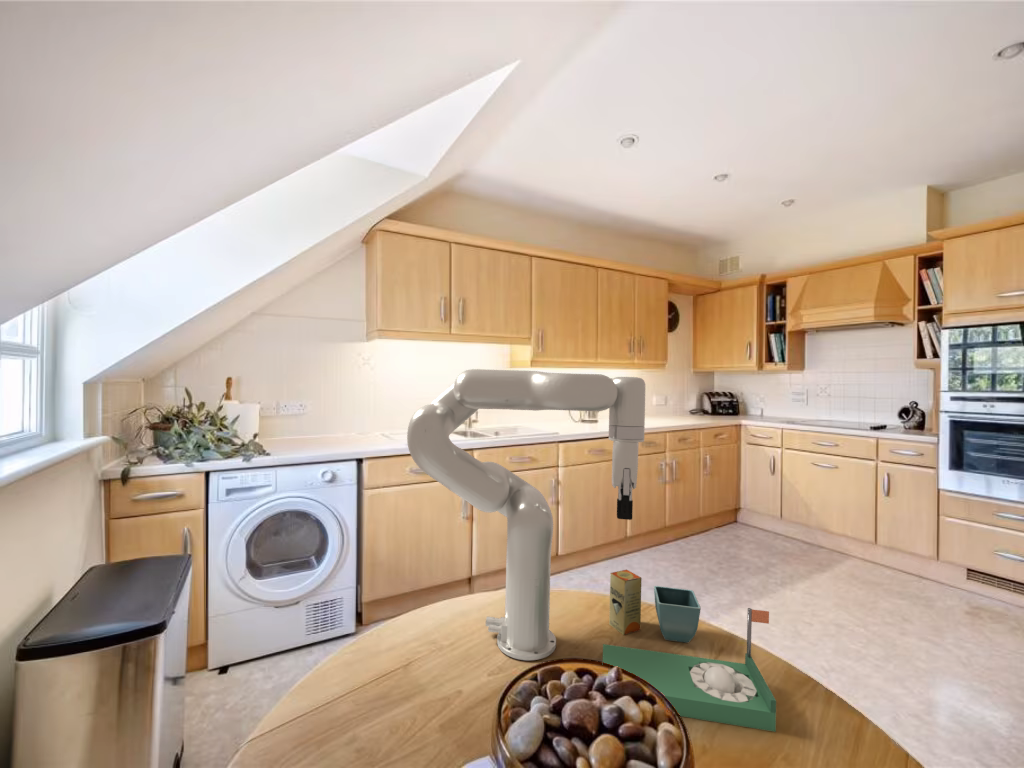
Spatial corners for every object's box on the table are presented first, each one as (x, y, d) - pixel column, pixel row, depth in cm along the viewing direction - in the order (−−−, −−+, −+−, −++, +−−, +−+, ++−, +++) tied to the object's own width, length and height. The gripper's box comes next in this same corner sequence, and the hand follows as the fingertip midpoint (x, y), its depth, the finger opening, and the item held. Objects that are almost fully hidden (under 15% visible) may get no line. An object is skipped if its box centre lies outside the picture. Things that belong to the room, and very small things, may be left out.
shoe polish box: (623, 635, 99) (624, 581, 99) (609, 624, 103) (610, 572, 103) (640, 630, 101) (641, 577, 101) (625, 619, 105) (626, 569, 105)
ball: (735, 704, 75) (703, 697, 78) (736, 701, 79) (706, 694, 81) (732, 670, 77) (701, 664, 80) (734, 668, 81) (704, 663, 84)
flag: (746, 684, 83) (748, 609, 83) (745, 681, 84) (747, 607, 84) (768, 687, 82) (769, 611, 82) (766, 684, 83) (768, 610, 83)
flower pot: (700, 650, 94) (701, 608, 94) (657, 644, 95) (658, 602, 95) (692, 628, 102) (693, 589, 102) (652, 623, 104) (653, 585, 104)
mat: (602, 703, 77) (603, 674, 77) (602, 658, 90) (603, 634, 90) (775, 731, 71) (776, 700, 72) (749, 680, 84) (749, 653, 84)
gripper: (608, 429, 104) (606, 507, 104) (609, 436, 89) (607, 527, 89) (641, 431, 102) (639, 510, 102) (647, 438, 88) (645, 530, 87)
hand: (624, 518), depth 96 cm, fingers closed
